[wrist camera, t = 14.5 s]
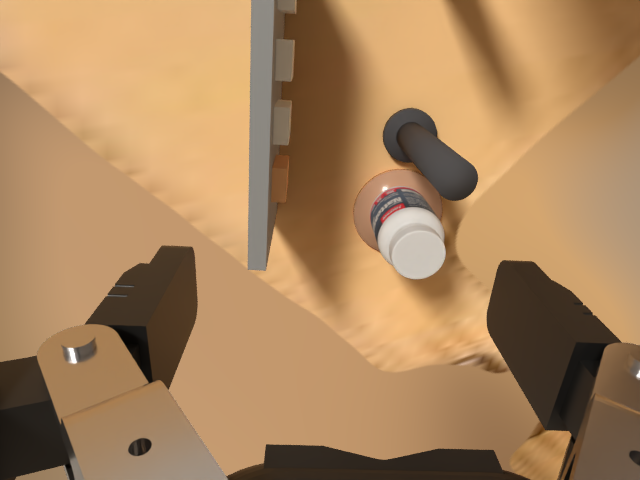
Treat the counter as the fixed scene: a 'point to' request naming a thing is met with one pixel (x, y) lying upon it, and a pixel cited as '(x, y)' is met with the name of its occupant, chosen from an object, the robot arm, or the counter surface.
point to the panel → (268, 123)
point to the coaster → (381, 184)
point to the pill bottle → (408, 232)
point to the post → (429, 153)
